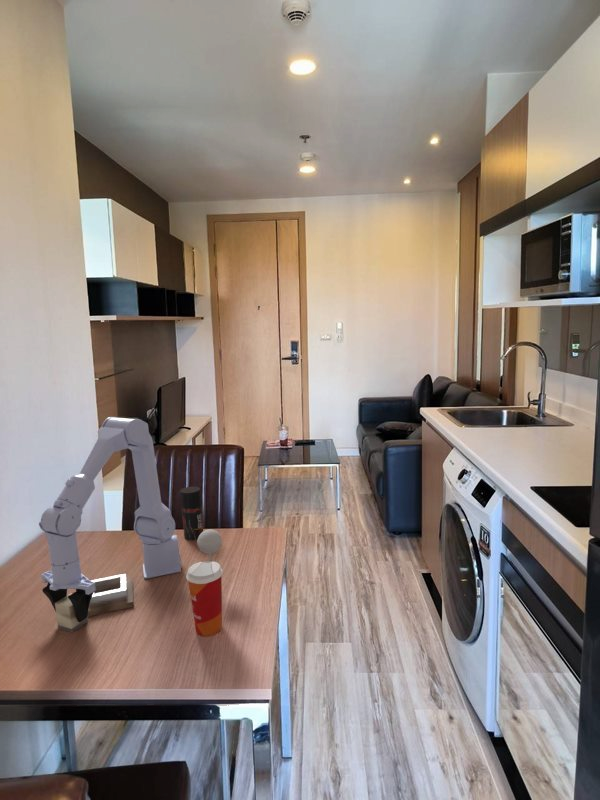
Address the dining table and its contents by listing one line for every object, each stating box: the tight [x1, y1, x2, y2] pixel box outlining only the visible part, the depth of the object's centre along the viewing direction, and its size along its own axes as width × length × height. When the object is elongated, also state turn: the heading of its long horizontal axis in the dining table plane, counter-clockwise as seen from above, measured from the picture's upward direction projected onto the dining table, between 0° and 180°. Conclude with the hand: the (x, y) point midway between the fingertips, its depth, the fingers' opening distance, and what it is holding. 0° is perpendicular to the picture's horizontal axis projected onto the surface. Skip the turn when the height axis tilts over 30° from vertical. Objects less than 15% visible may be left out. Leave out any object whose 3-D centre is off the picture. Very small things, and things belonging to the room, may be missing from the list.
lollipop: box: [196, 529, 223, 562], centre depth 125 cm, size 6×6×15 cm
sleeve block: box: [55, 592, 89, 633], centre depth 113 cm, size 4×4×6 cm
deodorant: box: [179, 486, 204, 541], centre depth 156 cm, size 6×6×15 cm
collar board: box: [88, 573, 135, 617], centre depth 123 cm, size 11×12×4 cm
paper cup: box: [185, 560, 224, 637], centre depth 108 cm, size 8×8×14 cm
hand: (72, 616), depth 113 cm, fingers open, 6 cm apart
